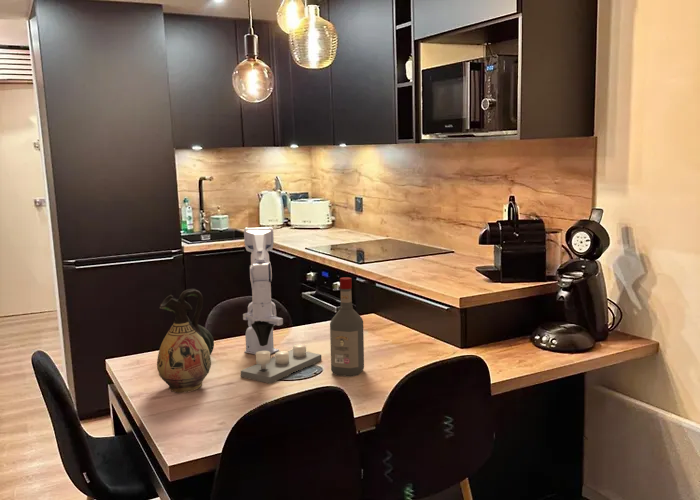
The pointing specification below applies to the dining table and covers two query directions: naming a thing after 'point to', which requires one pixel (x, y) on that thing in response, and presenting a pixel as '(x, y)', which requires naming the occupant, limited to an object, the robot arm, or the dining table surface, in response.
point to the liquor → (346, 336)
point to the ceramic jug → (183, 346)
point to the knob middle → (282, 357)
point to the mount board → (280, 368)
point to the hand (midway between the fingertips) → (263, 345)
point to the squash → (207, 338)
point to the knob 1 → (263, 358)
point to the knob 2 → (299, 350)
